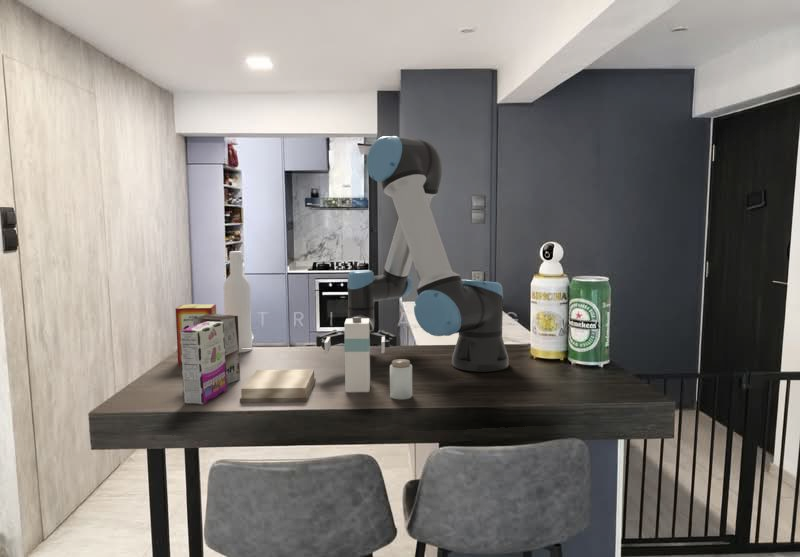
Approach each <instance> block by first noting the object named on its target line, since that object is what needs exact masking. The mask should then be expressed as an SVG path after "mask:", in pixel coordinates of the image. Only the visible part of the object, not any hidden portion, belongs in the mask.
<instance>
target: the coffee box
mask: <svg viewBox="0 0 800 557" xmlns="http://www.w3.org/2000/svg"><path fill="white" fill-rule="evenodd" d="M207 321H211V322H212V321H216V322H224V342H225V361H226V380H227V385H229V384H231V383H234V382H237V381H240V379H241V371H240V370H241V365H240V362H241V360H240V353H239V335H238V316H233V315H225V314H220V313H218V314H217V313H216V314H208V315H203V316H200V317H196V318H193V326H195V325H197V324H200V323H203V322H207Z"/></svg>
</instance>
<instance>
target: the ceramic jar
mask: <svg viewBox="0 0 800 557" xmlns="http://www.w3.org/2000/svg"><path fill="white" fill-rule="evenodd" d="M389 397H390V398H391V399H393V400H409V399H411V398H412V397H413V365H412V364H411V361H410V359H404V358H402V359H401V358H399V359H393V360H391V364H390V365H389Z"/></svg>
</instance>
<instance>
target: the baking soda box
mask: <svg viewBox="0 0 800 557" xmlns="http://www.w3.org/2000/svg"><path fill="white" fill-rule="evenodd" d="M208 314H217V304H216V303H214V304H205V303H204V304H203V303H201V304H199V303H191V304H182V305H179V306H177V307H175V326H176V327H175V328H176V330H175V331H176V346H177V347H176V348H177V365H178V364H182V360H181V343H180V331H181V330H184V329H186V328H189V327H192V326H193V318H196V317H200V316H203V315H208Z"/></svg>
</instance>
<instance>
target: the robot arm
mask: <svg viewBox="0 0 800 557" xmlns="http://www.w3.org/2000/svg"><path fill="white" fill-rule="evenodd" d="M368 150H369V151H368V154H367V155H366V156H367V157H366V170H367V173H368V175H369V177H370V178H371V179H372V180H374V181H376V182H378V183H379V182H380V184H381V186H382V190H383V193H384V195H387V196H389V197H390V198H392V201H393V205H394V208H395V210H396V214H397V217H398V219H397V220H398V221H397V224H396V227H395V230H394V233H393V238H392V239H391V240H392V241H391V245H390V246H389V247H390V248H389V251H388V255H387V258H386V261H385V264H384V268H383V271H382V274H380V275H375V274H374V272H373V270H368V269H361V270H360V269H359V270H358V269H357V270H351V271H349V272H348V274H347V275H348V276H347V284H346V285H347V298H348V299H347V300H348V302H347V305H348V306H347V319H350V318H353V317H361V318H369V326H370V345H372V344H375V345H378V346H380V348H381V350H380V352H381V354H385V351H386V348H390V346H392V347H398V346H397V344H398V343H397V341H398V340H397V339H398V338H397V337H398V336H397V335H395V334H392V333H390V332H387V331H385V329H379V330H377V332H375V331H374V330H375V329H374V328H375V326H376V320H375V302H380V301H387V300H397V299H401V298H404V297H407V296H408V295H409V294H410V293H411V291H412V288H413V286H412V284H413V283H412V282H413V281H412V279H411V277H410V276H409V274H410V270H411V267H412V263H413V265H414V268H415V270H416V274H417V277H418V280H419V284H418V286H417V287H416V292H417V297H416V298H415V300H414V304H415V305H414V306H413V312H414V317H415V319H416V322H417V324H418V326H420V328H421V329H422V330H423V331H424V332H426V333H427V334H429V335H431V336H434V337H442V336H444V337H445V336H446V337H448V336H449V337H450V336H453V335H454V334H458V338H457V340H456V343H455V347H454V351H453V353H452V356H451V365H452V366H453V367H454V368H456V369H458V370H461V371H462V370H463V371H467V372H468V371H469V372H480V373H481V372H482V373H487V372H489V373H490V372H498V371H502V370H506V369H508V367H509V360H510V359H509V358H510V357H509V355H508V352H507V348H506V345H505V342H504V338H503V318H504V317H503V312H504V311H503V309H504V308H503V307H504V305H503V304H504V293H503V286H502V284H501V283H499V282H498V281H497V282H496V281H486V280H485V281H484V280H474V279H462V277H461V275H460V274H459V273H457V272H454V271H453V269H452V267H451V264H450V261H449V258H448V255H447V253H446V249H445V247H444V243H443V242H442V238H441V235H440V233H439V229H438V226H437V223H436V220H435V217H434V214H433V211H432V209H431V202H432V200H433V197H435V196H437V195H438V193H439V189H440V186H441V182H442V175H443V174H442V173H443V172H442V171H443V164H442V159H441V156H440V154H439V152H438V150H437V148H436V147H435V146H434V145H433V144H432V143H430V142H428V141H426V140H423V139H420V138H419V139H416V138H406V137H399V136H397V135H392V136H390V135H389V136H387V135H386V136H385V135H384V136H380V137H379V138H377V139H376V140H375V141H374V142H373V143H372V144H371V146H370V148H369V149H368ZM315 337H316V338H315V339H316V341H315V342H316V343H315V344H316V347H318V348H319V347H321V348H322V349H323V350H324V354H325V355H326V354H327V355H328V354H329V352H330V350H331V347H332V346H337V345H344V339H345V331H344V330H342V331H341V332H339V331H338V330H337V329H333V330H332V331H330V332H327V333H323V334H319V335H317V336H315Z"/></svg>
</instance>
